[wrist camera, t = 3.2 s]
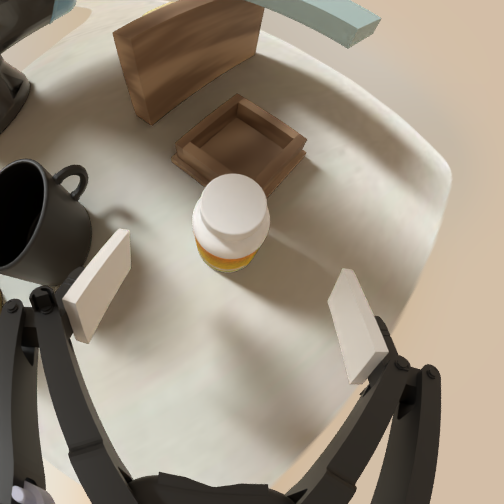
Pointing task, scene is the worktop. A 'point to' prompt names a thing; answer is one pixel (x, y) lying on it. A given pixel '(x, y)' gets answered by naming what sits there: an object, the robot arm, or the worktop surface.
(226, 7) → the wall
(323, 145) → the worktop surface
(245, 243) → the supplement bottle
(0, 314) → the cork
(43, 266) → the mug
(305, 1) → the plank
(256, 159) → the brown wooden square tray
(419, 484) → the robot arm
